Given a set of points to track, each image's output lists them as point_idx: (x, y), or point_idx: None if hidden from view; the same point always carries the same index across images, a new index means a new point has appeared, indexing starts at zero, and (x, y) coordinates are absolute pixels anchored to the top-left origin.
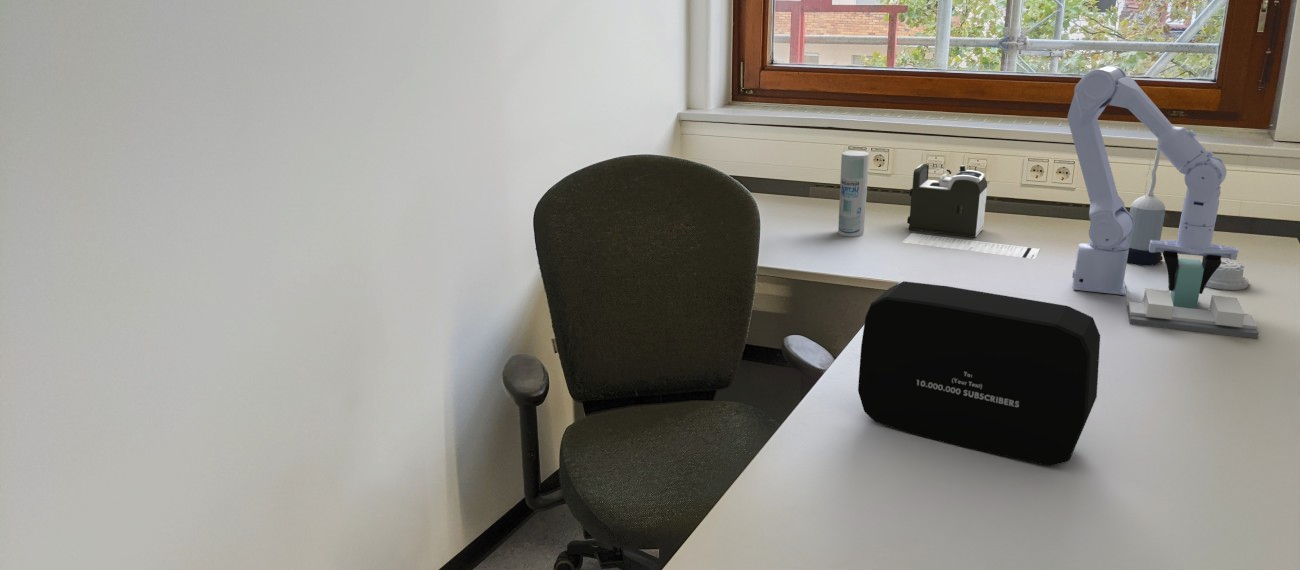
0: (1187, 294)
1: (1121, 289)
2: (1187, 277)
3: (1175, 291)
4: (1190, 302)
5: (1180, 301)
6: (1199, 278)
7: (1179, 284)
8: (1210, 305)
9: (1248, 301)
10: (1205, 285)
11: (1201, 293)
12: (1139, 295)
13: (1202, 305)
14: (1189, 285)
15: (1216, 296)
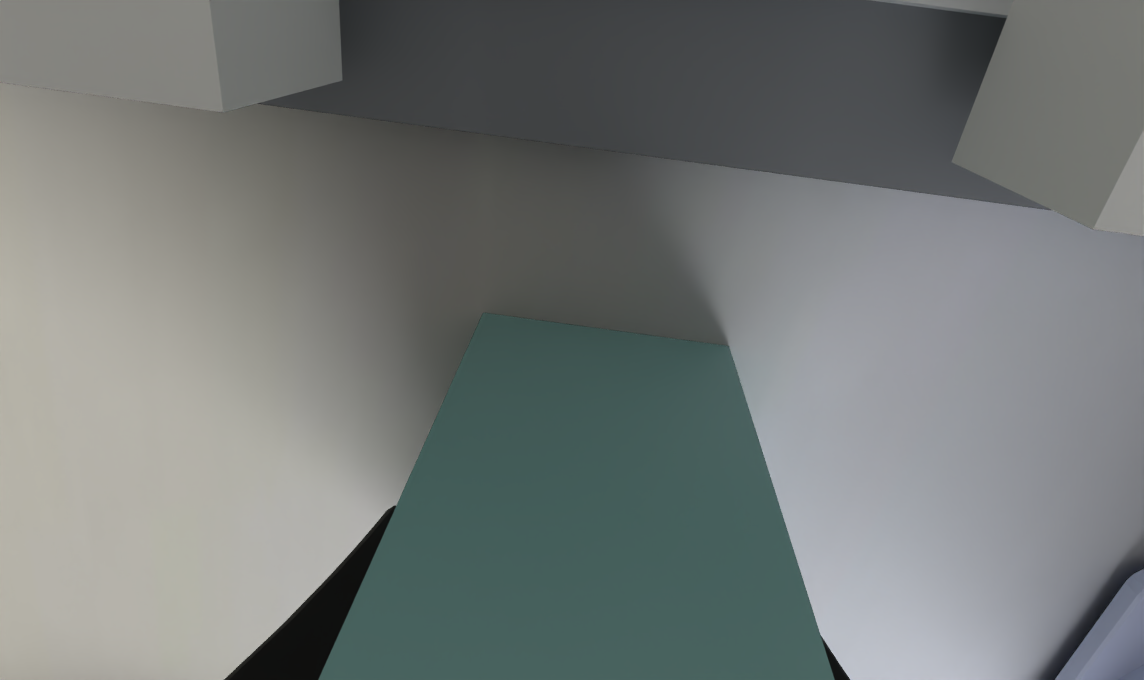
0: (594, 422)
1: (1130, 666)
2: (643, 674)
3: (764, 463)
4: (547, 359)
5: (661, 372)
6: (391, 646)
7: (745, 552)
8: (314, 22)
9: (28, 585)
10: (316, 592)
11: (395, 507)
12: (953, 592)
13: (405, 430)
14: (581, 526)
15: (124, 25)
